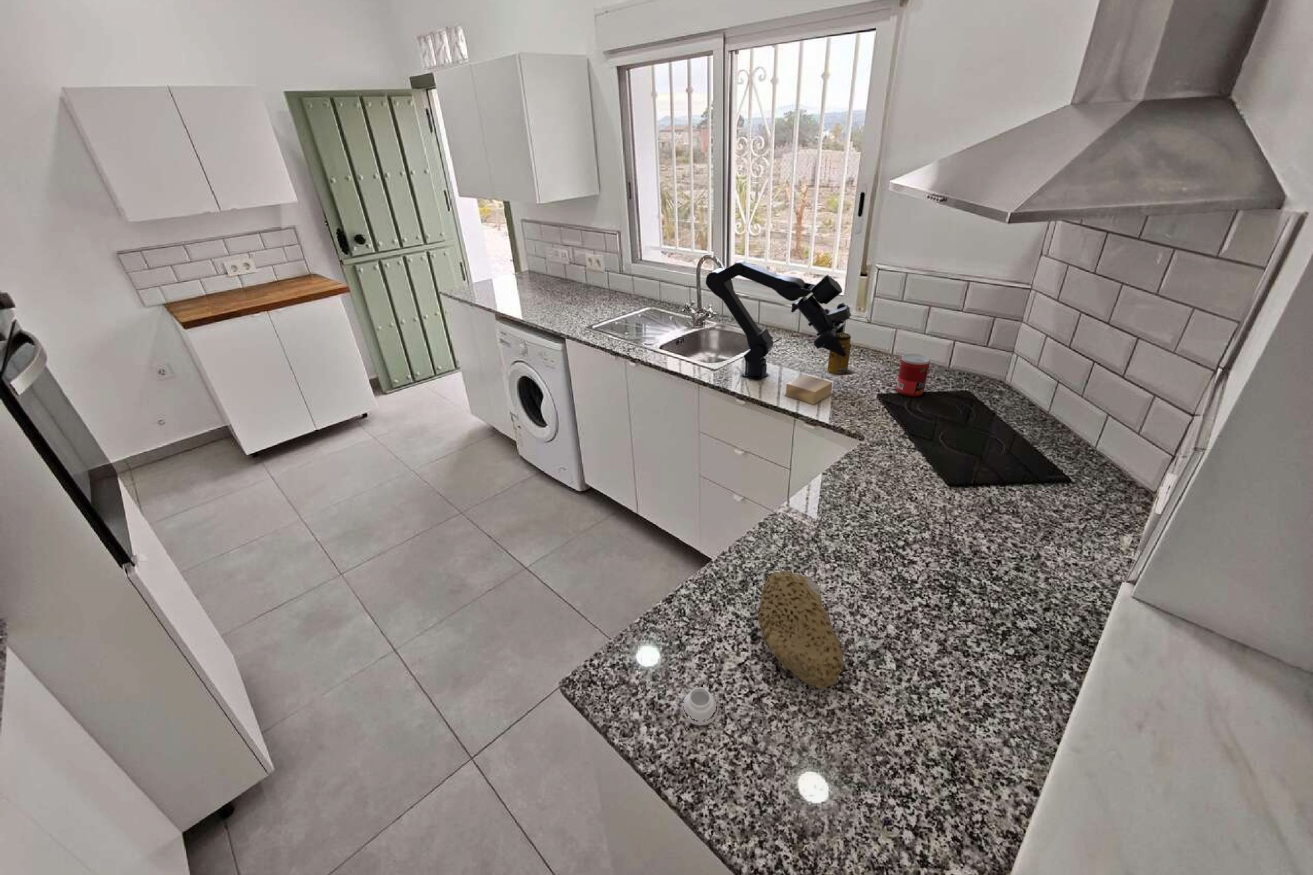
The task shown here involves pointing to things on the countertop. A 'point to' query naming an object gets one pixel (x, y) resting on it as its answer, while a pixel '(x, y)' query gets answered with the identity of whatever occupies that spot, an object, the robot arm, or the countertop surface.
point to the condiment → (840, 358)
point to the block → (809, 389)
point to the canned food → (913, 374)
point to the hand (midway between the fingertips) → (847, 352)
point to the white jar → (699, 706)
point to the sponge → (799, 629)
